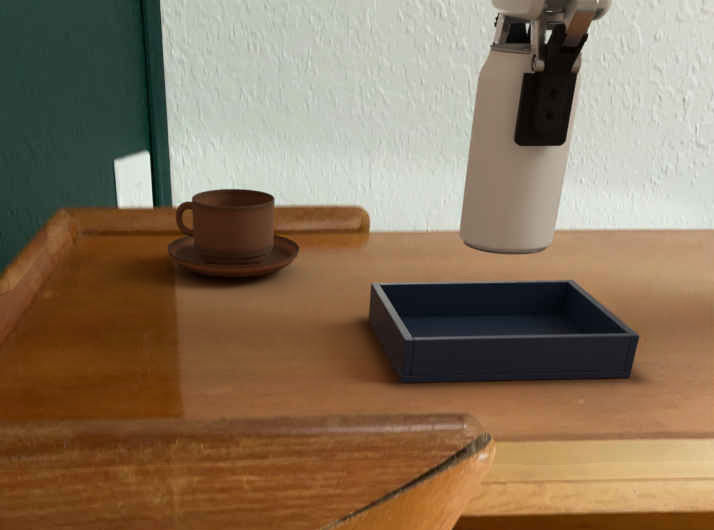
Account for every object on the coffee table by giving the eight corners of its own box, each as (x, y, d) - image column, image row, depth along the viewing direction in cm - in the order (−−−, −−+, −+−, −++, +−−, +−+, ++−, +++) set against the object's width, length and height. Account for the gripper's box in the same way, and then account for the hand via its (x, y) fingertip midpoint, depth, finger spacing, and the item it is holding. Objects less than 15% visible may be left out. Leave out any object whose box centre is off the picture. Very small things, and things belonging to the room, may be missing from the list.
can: (454, 252, 65) (479, 49, 59) (461, 229, 71) (484, 41, 64) (552, 259, 64) (588, 53, 57) (551, 235, 69) (585, 44, 62)
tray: (565, 317, 78) (572, 279, 76) (630, 377, 67) (640, 335, 65) (368, 320, 76) (371, 282, 75) (401, 383, 66) (405, 340, 64)
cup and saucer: (153, 283, 84) (149, 209, 81) (186, 248, 94) (184, 181, 91) (287, 291, 83) (289, 216, 79) (307, 255, 92) (309, 186, 89)
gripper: (711, -242, 46) (627, 159, 57) (584, -199, 61) (535, 116, 71) (560, -246, 46) (503, 160, 56) (468, -201, 60) (435, 116, 70)
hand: (521, 132), depth 63 cm, fingers closed on can, 6 cm apart
